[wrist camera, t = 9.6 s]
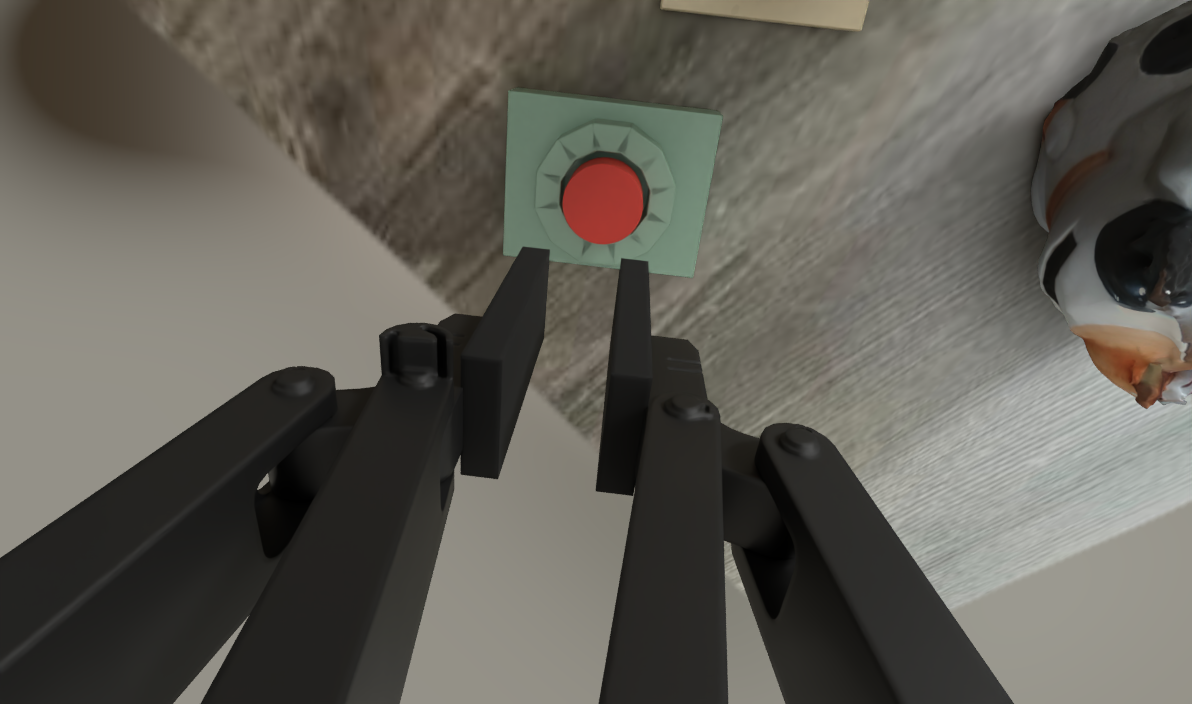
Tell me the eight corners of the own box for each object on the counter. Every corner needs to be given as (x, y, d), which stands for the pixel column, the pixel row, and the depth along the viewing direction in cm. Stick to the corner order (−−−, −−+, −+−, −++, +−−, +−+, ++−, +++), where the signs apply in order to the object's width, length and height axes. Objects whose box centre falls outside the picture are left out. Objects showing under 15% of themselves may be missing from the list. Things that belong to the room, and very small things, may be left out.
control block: (510, 243, 34) (495, 267, 30) (516, 87, 30) (500, 93, 27) (690, 264, 34) (695, 291, 30) (717, 110, 30) (728, 119, 26)
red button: (563, 229, 30) (559, 240, 28) (569, 152, 28) (565, 159, 26) (637, 238, 29) (637, 249, 28) (648, 161, 28) (648, 168, 26)
